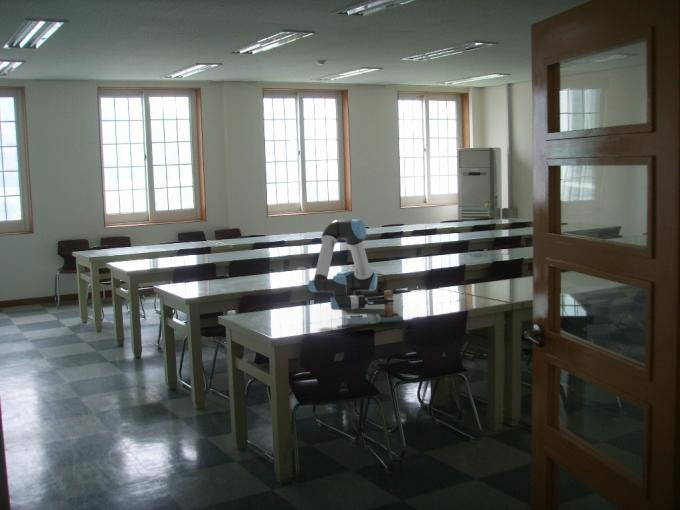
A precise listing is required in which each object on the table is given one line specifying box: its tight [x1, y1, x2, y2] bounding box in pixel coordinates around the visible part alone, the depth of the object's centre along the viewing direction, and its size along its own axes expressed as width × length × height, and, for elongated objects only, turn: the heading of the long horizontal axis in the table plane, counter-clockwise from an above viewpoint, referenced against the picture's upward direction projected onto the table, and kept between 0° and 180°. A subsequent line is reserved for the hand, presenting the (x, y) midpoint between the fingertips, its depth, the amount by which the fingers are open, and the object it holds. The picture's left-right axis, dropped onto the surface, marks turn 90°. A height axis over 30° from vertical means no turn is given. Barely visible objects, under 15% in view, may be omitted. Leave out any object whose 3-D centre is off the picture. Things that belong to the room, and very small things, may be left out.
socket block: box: [344, 313, 370, 325], centre depth 429 cm, size 12×12×3 cm
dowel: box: [383, 289, 395, 318], centre depth 430 cm, size 5×5×15 cm
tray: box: [375, 312, 404, 323], centre depth 431 cm, size 13×13×2 cm
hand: (397, 299), depth 431 cm, fingers open, 5 cm apart
